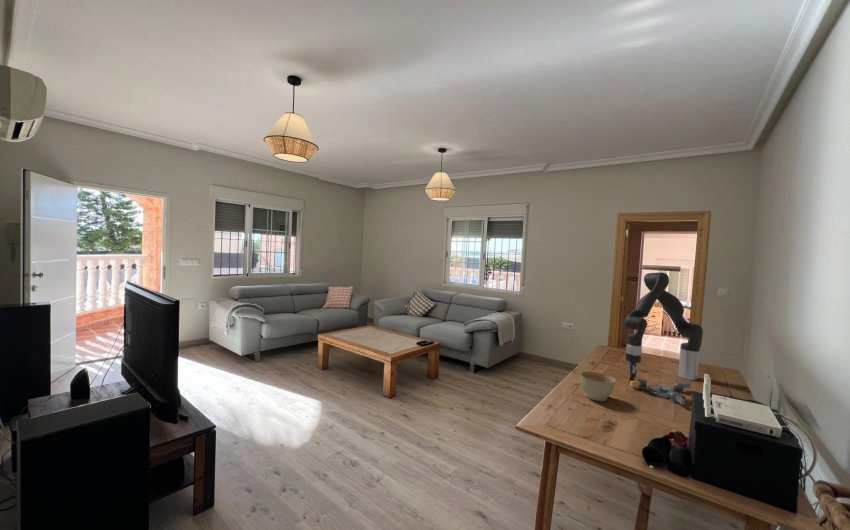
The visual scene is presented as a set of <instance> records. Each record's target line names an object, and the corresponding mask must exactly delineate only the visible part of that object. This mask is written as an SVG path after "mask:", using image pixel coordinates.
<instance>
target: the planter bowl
mask: <svg viewBox="0 0 850 530" xmlns="http://www.w3.org/2000/svg"><path fill="white" fill-rule="evenodd" d="M579 376H580V377H579V378H580V385H581V388H582V390H583V391H584V393H585V397H587V399H589V400H591V401H597V402H605V401H607V399H608V398H609V397H610V396H611V395H612V393H613V392H614V389H615V387H616V386H615V385H616V383H617V382H616V381H617V380H616V378H615V377H613V376H611V375H609V374H606V373H603V372H598V371H592V370H591V371H581V372H580V374H579Z"/></svg>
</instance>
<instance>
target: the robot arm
mask: <svg viewBox="0 0 850 530" xmlns="http://www.w3.org/2000/svg"><path fill="white" fill-rule="evenodd" d="M643 282H644V285H645V286H646V288H647V289H648V290H649V291H648V292H647V293H646V294H645V295H643V296H642V297H641V298H640V299H639V300H638V301H637V303H636V306H635V308H634V309H633V310H632V311H631V312H630V313H629V314H628V315H627V316H626V317H625V320H624V325H625V327H626V328H627V329H631V330H634V331H635V330H636V332H631V333H630V332H629V333H628V334H627V337H626V340H627V341H626V347H625V355H624V356H625V357H624V358H625V361H627V362H629V363H627V364H628V375H629V380H628V384H630V381H635V378H636V375H637V370H638V365H637V364H640V363H641V362H642V353H643V349H642V346H643V345H642V343H643V338H644V334H645V332H646V330H647V327H648V321H647V319H646V317H648V316H649V314H650V313H651V310H652V308H653V306H654V304H655V303H656V301H658V303H660V305H661V306H662V308H663V310H664V311H665V312H666V314H667V315H668V316H669V318H670V320H671V321H672V322H673V324H674V326H675V329H676V330H677V332H678V333H679V335H680V336H682V337H683V338H687V339H689V340H688V342H682V343H681V344H680V351H679V362H678V363H679V364H678V373H677V374H678V375H677V376H678V377H679V378H682V379H685V380H689V381H690V380H691V381H696V380H698V373H699V372H698V371H699V359H700V349H701V346H702V342H703V335H704V334H703V333H704V330H703V327H702V325H700V324H697V323H692V322H688V321H687V320H686V319H685V317H684V313H685V308H684V304H682V302H681V301H680V299H679V298H678V297H677V296H675V295H674V294H672V293H670V292H668V291H666V289H667V287H668V285H669V283H670V278H669V275H668V274H667V273H666V272H649V273H646V274H645V275H644V276H643Z"/></svg>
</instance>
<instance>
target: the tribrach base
mask: <svg viewBox="0 0 850 530" xmlns="http://www.w3.org/2000/svg"><path fill="white" fill-rule="evenodd" d="M638 388H639V389H642V390H645V391H648V393H650V394H652V395H654V396H656V397H659V398H662V399H666V400H667V399H668V400H669V401H670V402H671V403H677V404H678V403H679V402H678V401H674V400H671V399H670V398H669V397H670V391H674V392H678V393H680V394H681V395H680V397H681V398H683V391H678V390H675V389H674V388H672V387H671V386H670V385H668V384H662V383H660V384H659V385H657V384H656V385H655V384H654V385H649V386H648V385H647V387H640V386H638ZM679 404H680V403H679Z"/></svg>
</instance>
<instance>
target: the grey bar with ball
mask: <svg viewBox="0 0 850 530" xmlns="http://www.w3.org/2000/svg"><path fill="white" fill-rule="evenodd" d="M689 388H691V383H690V382H678V381H674V382H673V389H675V390H678V391H682V392H684V389H689Z"/></svg>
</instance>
